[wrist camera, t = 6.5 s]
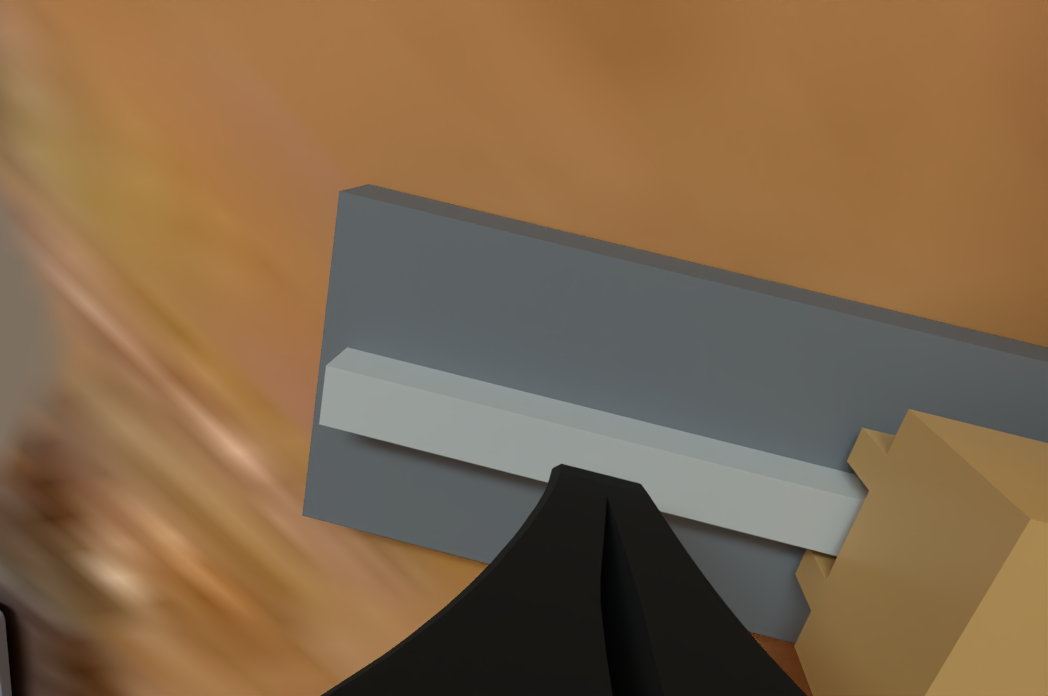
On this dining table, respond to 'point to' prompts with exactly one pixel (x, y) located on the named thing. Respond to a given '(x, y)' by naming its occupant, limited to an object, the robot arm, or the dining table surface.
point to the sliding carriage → (935, 569)
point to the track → (619, 392)
